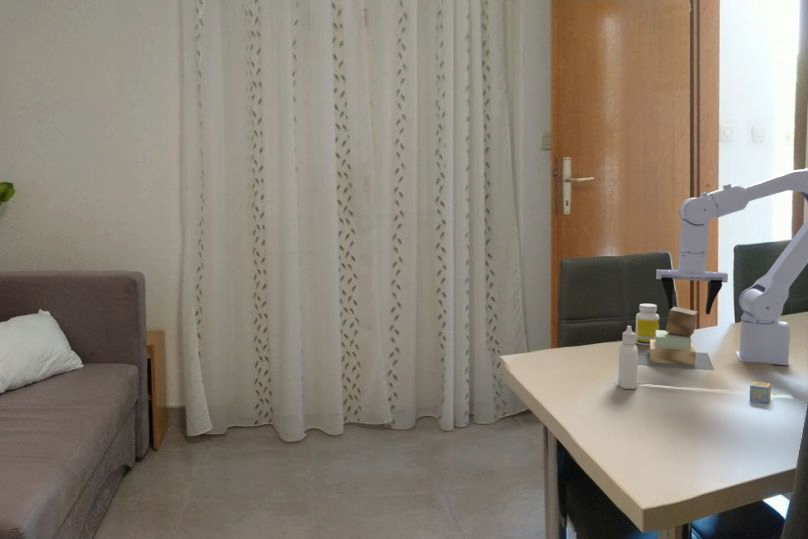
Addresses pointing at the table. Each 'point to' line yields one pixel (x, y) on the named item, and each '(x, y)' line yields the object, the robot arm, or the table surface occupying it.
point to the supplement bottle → (646, 324)
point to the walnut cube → (681, 321)
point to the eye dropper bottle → (628, 360)
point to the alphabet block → (760, 392)
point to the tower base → (672, 355)
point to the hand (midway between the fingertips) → (688, 312)
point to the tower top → (672, 341)
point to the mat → (700, 363)
